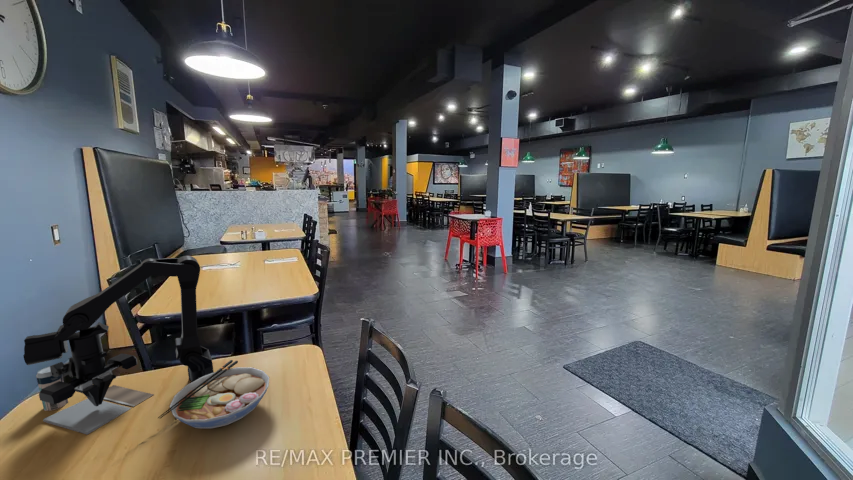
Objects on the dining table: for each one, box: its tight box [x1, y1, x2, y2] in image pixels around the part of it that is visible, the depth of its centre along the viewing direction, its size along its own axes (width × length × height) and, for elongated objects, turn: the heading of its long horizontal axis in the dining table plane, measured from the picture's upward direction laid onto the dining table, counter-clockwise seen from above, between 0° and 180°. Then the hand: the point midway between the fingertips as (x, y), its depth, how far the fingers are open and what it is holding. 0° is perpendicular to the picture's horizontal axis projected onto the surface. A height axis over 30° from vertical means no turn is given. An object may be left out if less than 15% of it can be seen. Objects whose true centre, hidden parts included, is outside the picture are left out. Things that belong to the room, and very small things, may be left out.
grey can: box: [35, 365, 69, 412], centre depth 94 cm, size 5×5×12 cm
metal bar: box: [103, 384, 155, 408], centre depth 100 cm, size 16×6×2 cm, turn 74°
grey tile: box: [42, 398, 132, 435], centre depth 92 cm, size 16×10×1 cm, turn 74°
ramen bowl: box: [157, 359, 270, 429], centre depth 93 cm, size 25×23×8 cm
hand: (98, 405), depth 94 cm, fingers closed
